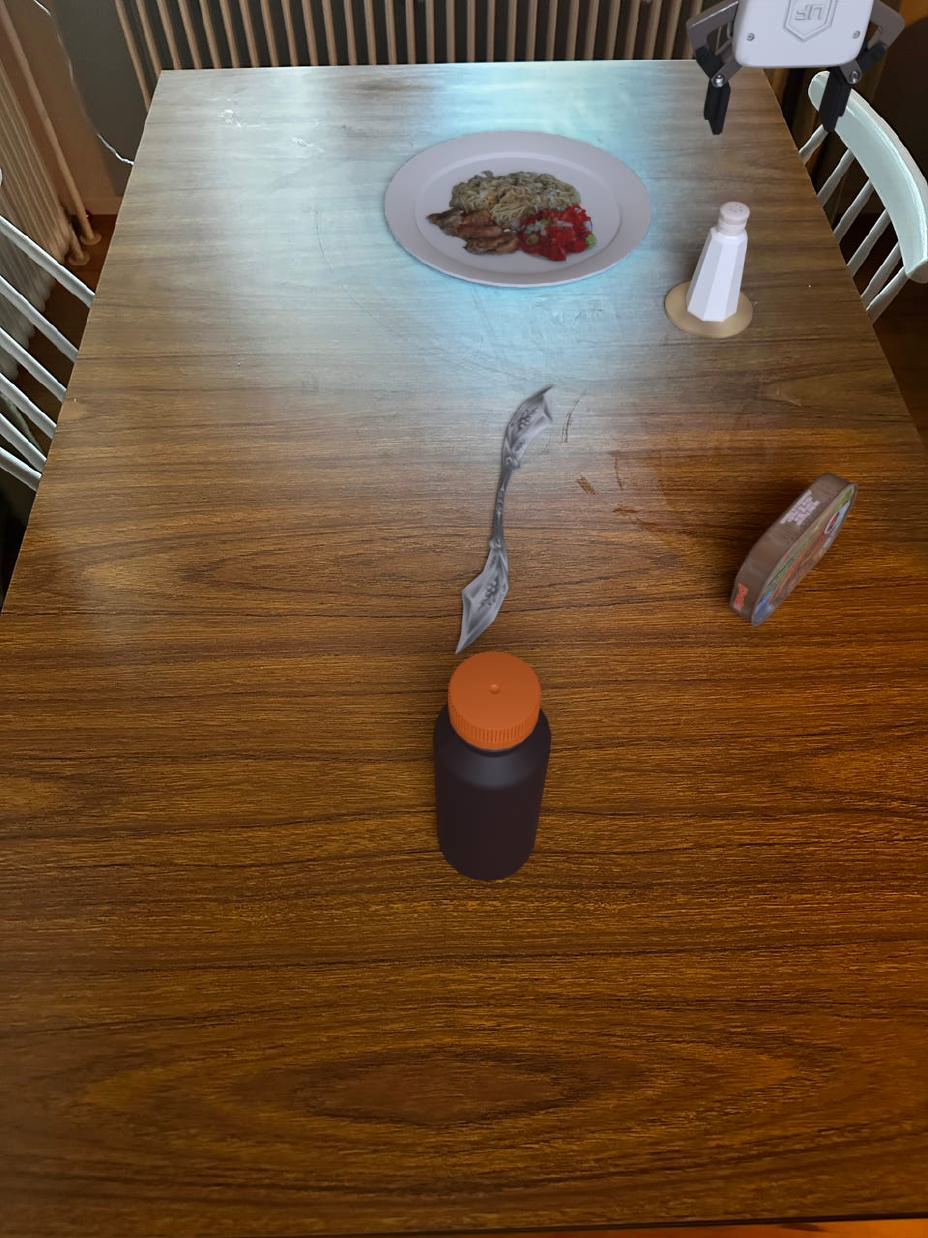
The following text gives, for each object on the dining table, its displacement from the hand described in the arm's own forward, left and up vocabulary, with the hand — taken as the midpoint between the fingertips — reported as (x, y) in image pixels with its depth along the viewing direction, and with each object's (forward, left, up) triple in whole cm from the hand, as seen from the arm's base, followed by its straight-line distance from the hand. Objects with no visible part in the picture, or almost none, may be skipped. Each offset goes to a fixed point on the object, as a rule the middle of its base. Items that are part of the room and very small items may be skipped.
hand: (769, 125), depth 83 cm
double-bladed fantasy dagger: (+23, +26, -20) cm, 40 cm away
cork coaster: (+1, -1, -20) cm, 20 cm away
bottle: (+26, +56, -20) cm, 65 cm away
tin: (+1, +34, -20) cm, 40 cm away
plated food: (+20, -18, -20) cm, 33 cm away
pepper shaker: (+1, 0, -19) cm, 19 cm away
